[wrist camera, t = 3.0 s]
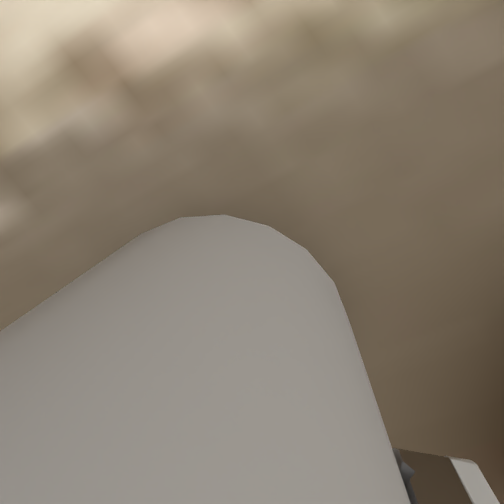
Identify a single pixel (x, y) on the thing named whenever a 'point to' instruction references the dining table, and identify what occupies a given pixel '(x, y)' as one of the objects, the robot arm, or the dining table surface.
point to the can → (193, 380)
